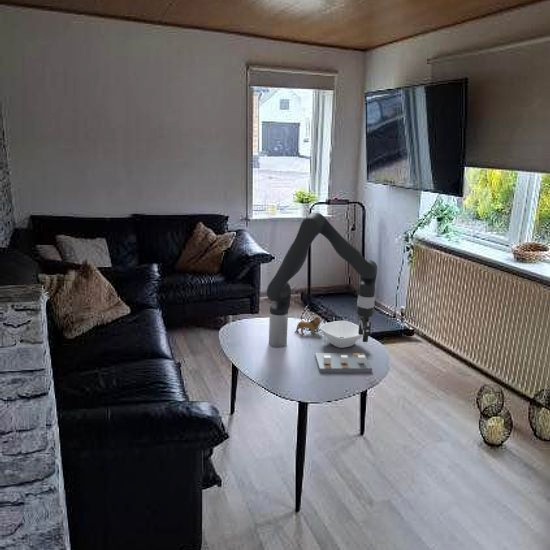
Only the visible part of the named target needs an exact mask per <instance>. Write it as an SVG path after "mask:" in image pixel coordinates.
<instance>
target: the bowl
mask: <svg viewBox="0 0 550 550" xmlns="http://www.w3.org/2000/svg"><path fill="white" fill-rule="evenodd" d="M318 328H319V330H320V331H321V333H322V335H324V336H325V337H326V338H327V339H326V340H327V341H328V342H329V343H330V344H331V345H333V346H335V347H337V348H339V349H344V348H350V347H352V346H354V345H355V343H357V342H358V340H360V339H363V335H359V333H358V332H359V326H358V324H356V323H353V322H351V321H347V320H336V321H329V322H326V323H323V324H320V325H319V326H318ZM340 337H344V338H340Z"/></svg>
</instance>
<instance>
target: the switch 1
mask: <svg viewBox="0 0 550 550" xmlns="http://www.w3.org/2000/svg"><path fill="white" fill-rule="evenodd" d="M323 362H324V364H331V356H330V355H324V359H323Z"/></svg>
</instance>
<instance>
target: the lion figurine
mask: <svg viewBox="0 0 550 550" xmlns="http://www.w3.org/2000/svg"><path fill="white" fill-rule="evenodd" d="M321 322H322V318H321V317H320V316H318V315H317V316H315V317H314V318H313V319H312V320H310V321H304V320H301V321H299V322H298V323H297V326H296V330H295V331H294V334H296V333H299V332H300V333H301V334H302V335H305V332H303V331H304V329H310V332H311V333H312V334H313V335H316V329H317V328H319V326H321ZM299 330H300V331H299Z"/></svg>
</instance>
